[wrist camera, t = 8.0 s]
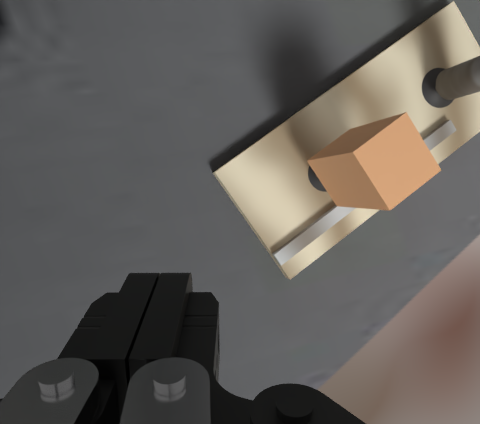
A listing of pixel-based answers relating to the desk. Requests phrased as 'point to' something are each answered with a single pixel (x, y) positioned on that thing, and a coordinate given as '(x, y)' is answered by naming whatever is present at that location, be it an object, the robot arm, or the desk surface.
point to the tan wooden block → (375, 164)
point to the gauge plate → (347, 117)
